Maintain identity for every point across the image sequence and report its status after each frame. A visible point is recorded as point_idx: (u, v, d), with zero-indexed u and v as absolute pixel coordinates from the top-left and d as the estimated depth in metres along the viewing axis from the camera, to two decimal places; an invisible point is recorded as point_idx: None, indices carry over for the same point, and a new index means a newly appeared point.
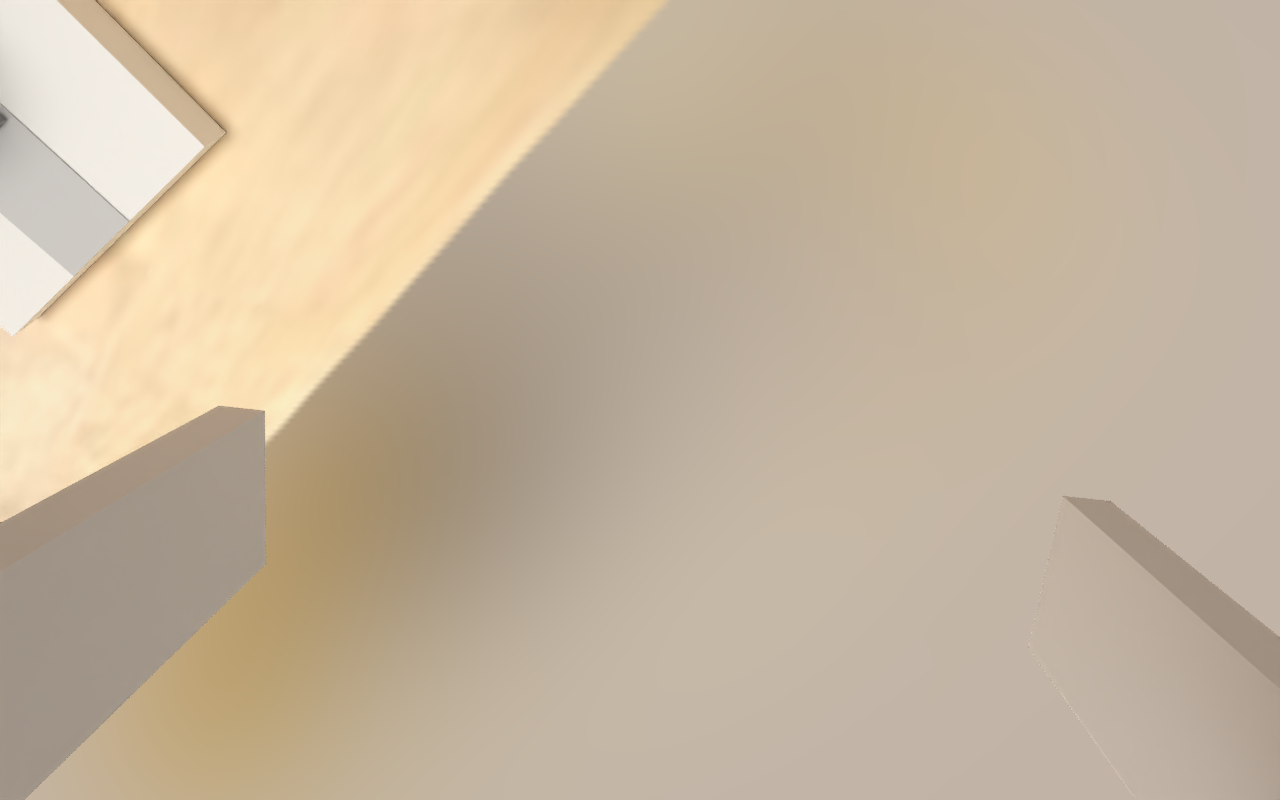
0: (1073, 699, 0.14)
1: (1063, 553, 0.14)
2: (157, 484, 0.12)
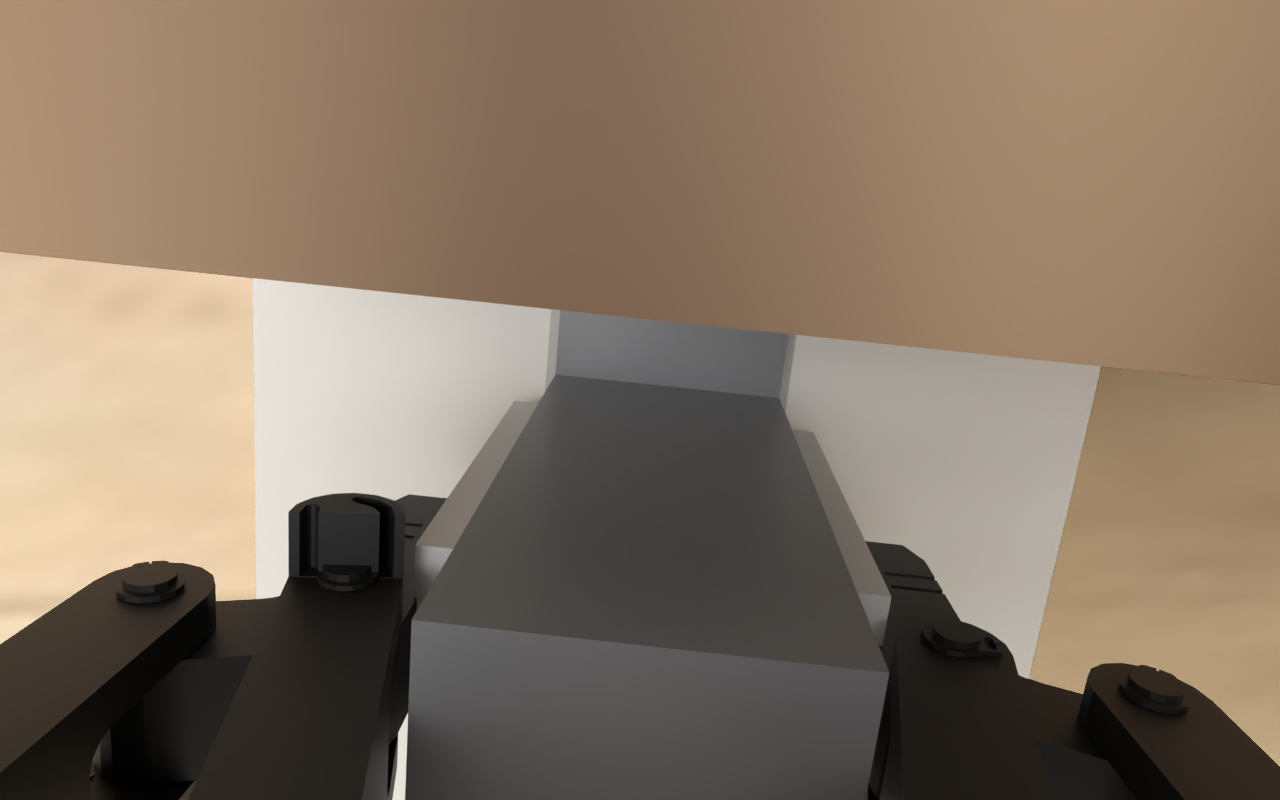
0: None
1: None
2: None
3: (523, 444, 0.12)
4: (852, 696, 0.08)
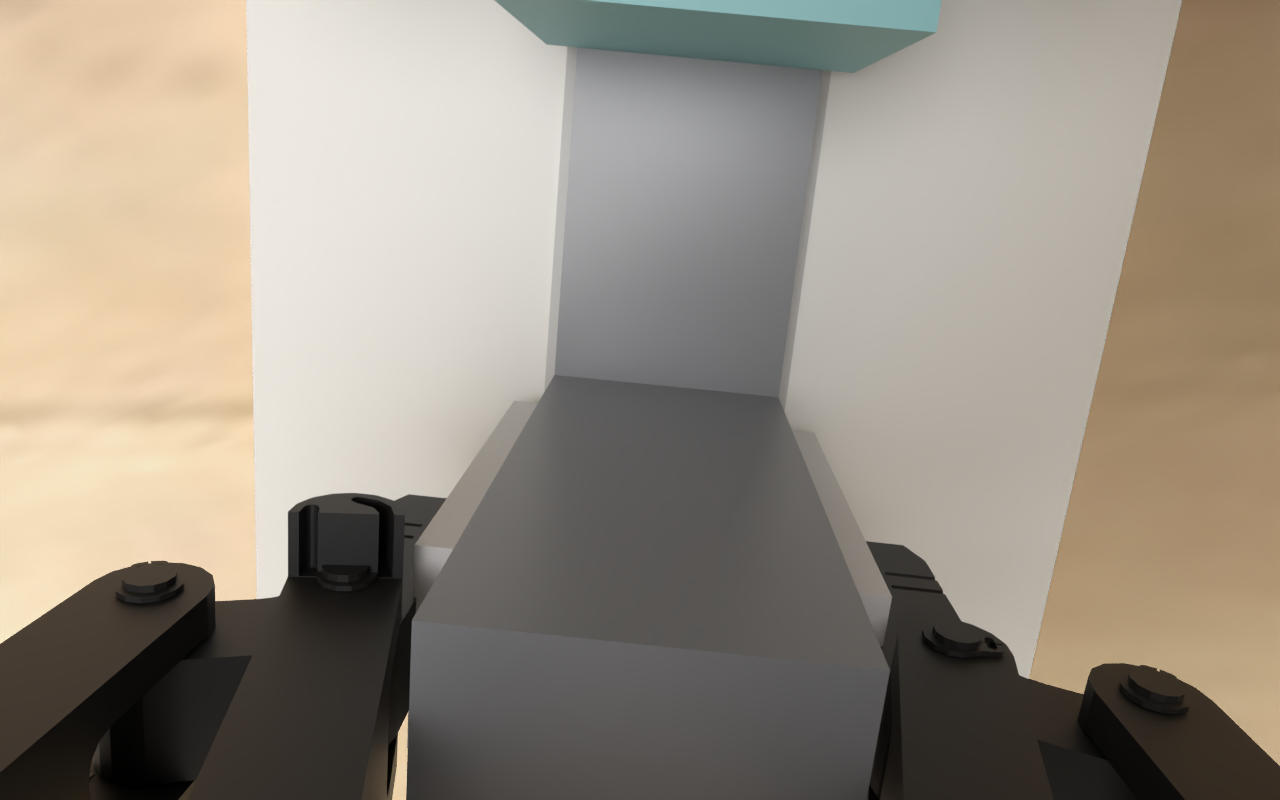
0: None
1: None
2: None
3: (522, 444, 0.12)
4: (853, 694, 0.08)
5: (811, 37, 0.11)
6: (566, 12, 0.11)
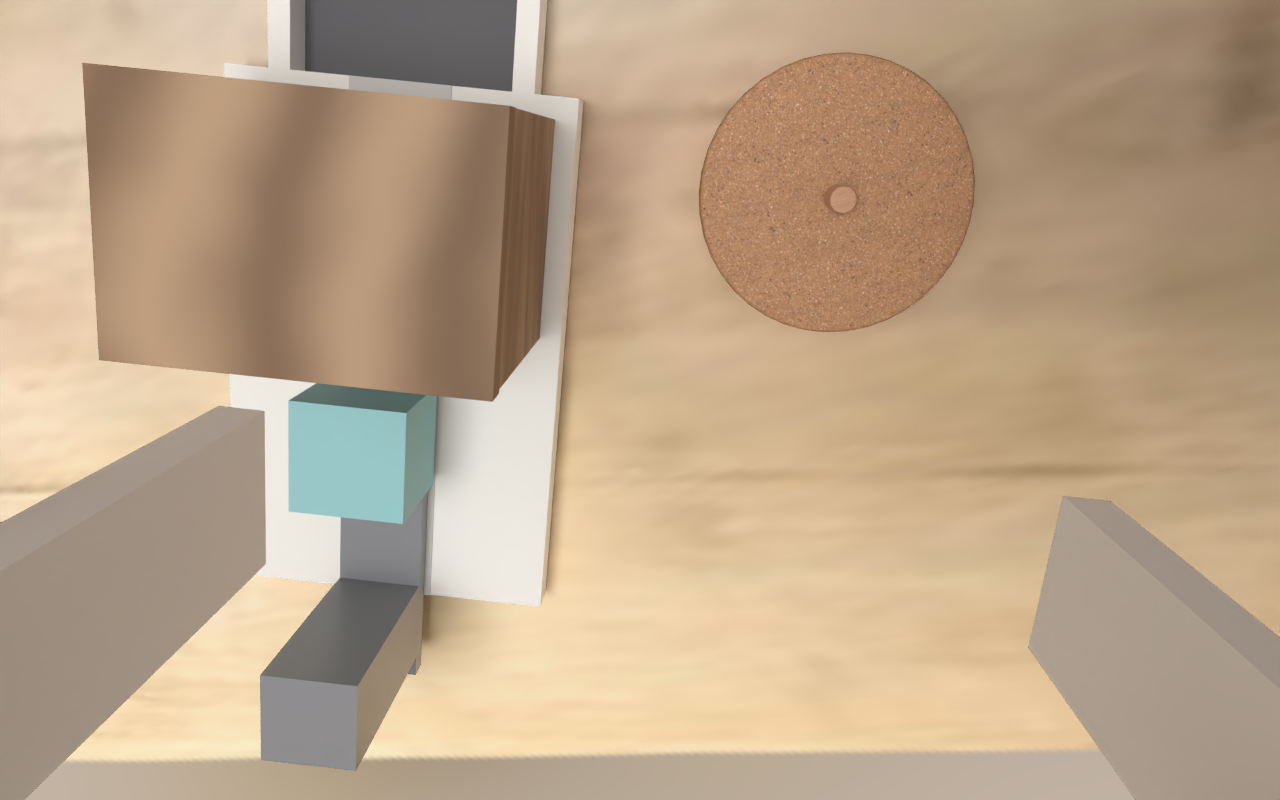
0: (1073, 699, 0.14)
1: (1063, 553, 0.14)
2: (157, 484, 0.12)
3: (310, 617, 0.42)
4: (350, 691, 0.37)
5: None
6: None
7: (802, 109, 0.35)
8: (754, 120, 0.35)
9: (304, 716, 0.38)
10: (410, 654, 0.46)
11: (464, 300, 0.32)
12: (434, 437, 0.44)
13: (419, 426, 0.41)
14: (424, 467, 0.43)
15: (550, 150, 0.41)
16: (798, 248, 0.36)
